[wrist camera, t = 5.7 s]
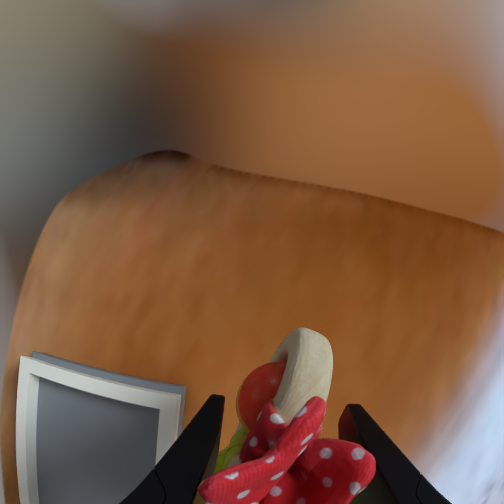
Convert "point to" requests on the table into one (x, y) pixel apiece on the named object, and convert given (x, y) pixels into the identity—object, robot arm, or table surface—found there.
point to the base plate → (89, 430)
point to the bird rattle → (288, 435)
